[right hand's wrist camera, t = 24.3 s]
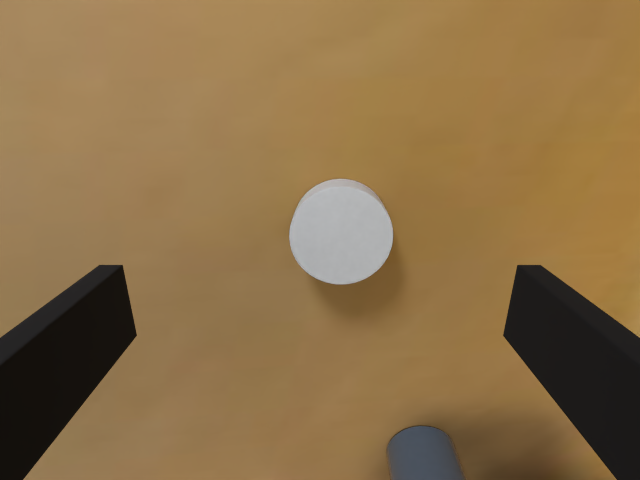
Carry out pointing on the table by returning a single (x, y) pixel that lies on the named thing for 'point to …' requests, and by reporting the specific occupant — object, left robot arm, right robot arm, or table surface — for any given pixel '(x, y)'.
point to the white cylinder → (341, 232)
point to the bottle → (423, 455)
